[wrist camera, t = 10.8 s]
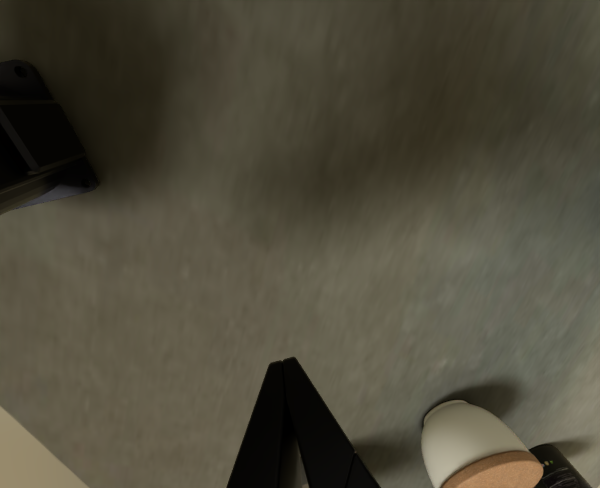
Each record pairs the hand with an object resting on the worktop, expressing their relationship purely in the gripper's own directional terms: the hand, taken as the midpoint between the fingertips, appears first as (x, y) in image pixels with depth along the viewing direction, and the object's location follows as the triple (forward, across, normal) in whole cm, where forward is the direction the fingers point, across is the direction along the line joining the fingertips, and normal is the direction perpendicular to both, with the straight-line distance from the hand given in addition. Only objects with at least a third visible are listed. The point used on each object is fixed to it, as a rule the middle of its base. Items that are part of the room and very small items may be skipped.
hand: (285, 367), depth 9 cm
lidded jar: (+12, -15, +31) cm, 37 cm away
